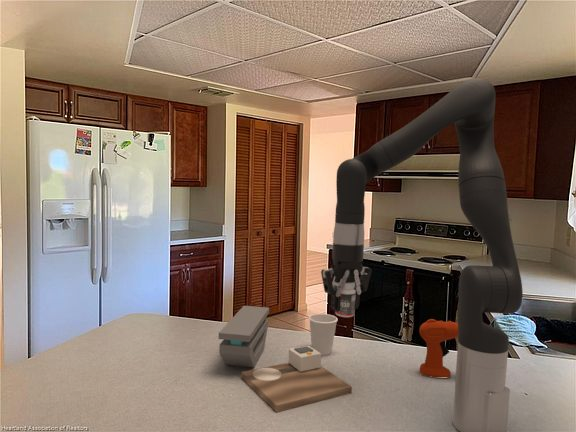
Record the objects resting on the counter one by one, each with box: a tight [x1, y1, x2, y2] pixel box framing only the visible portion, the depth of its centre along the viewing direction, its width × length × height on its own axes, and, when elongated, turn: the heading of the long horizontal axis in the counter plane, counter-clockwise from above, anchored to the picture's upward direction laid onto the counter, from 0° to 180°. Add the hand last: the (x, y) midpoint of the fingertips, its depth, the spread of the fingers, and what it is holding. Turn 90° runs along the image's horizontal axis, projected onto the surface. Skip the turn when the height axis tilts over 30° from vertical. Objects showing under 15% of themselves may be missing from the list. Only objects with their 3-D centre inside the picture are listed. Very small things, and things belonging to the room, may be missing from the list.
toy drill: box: [419, 318, 458, 378], centre depth 113 cm, size 5×19×15 cm, turn 80°
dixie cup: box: [308, 313, 338, 356], centre depth 126 cm, size 8×8×10 cm
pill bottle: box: [334, 281, 356, 318], centre depth 108 cm, size 5×5×8 cm
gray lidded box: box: [217, 305, 270, 369], centre depth 119 cm, size 25×8×11 cm, turn 171°
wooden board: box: [241, 362, 353, 413], centre depth 104 cm, size 18×20×2 cm
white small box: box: [287, 345, 322, 372], centre depth 112 cm, size 6×6×4 cm
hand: (345, 309), depth 108 cm, fingers closed on pill bottle, 4 cm apart
